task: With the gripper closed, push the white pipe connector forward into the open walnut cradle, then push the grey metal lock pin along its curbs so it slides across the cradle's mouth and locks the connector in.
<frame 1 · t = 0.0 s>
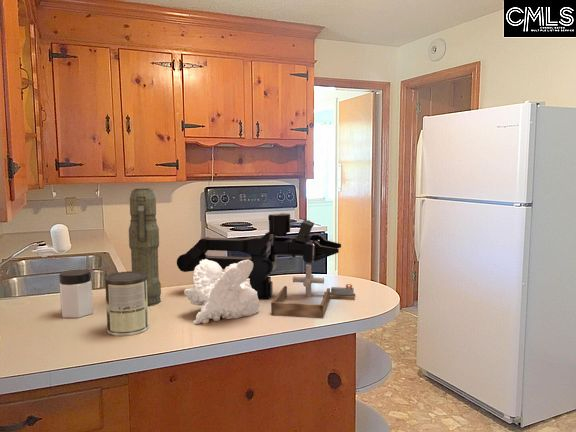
hand: (339, 248, 145), 17 cm above the counter, tool horizontal, fingers open, 9 cm apart
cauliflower: (221, 316, 133), on the counter
jar: (77, 314, 135), on the counter
pipe connector: (308, 296, 153), on the counter
thermos: (146, 302, 146), on the counter
coffee can: (128, 329, 122), on the counter
dock cradle: (301, 307, 140), on the counter
lock pin: (342, 291, 150), point 2 cm above the counter, slide at 6.0 cm
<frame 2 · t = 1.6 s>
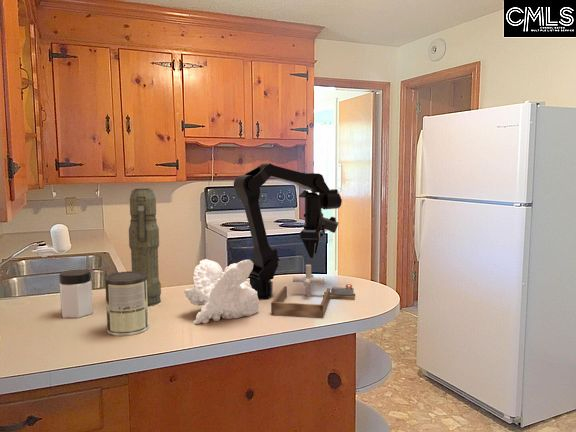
hand: (313, 255, 162), 11 cm above the counter, tool pointing down, fingers open, 8 cm apart
nothing on the counter moved.
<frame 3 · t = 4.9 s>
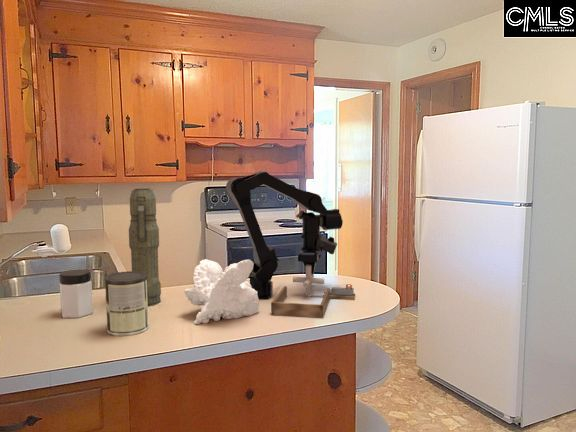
hand: (311, 277, 158), 5 cm above the counter, tool pointing down, fingers closed
pipe connector: (308, 296, 153), on the counter, touching gripper
everything else where it was.
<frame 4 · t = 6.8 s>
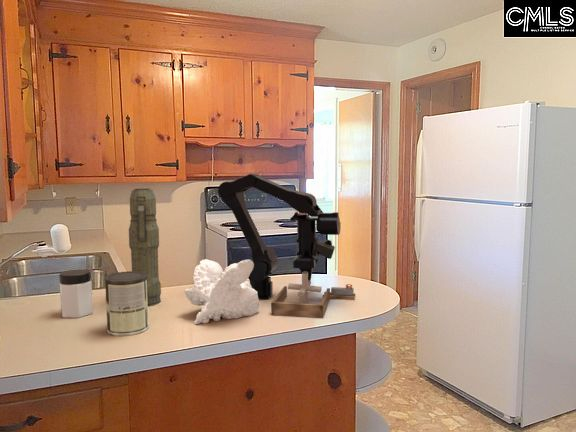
hand: (308, 283, 148), 5 cm above the counter, tool pointing down, fingers closed
pipe connector: (304, 304, 144), on the counter, touching gripper
everything else where it was.
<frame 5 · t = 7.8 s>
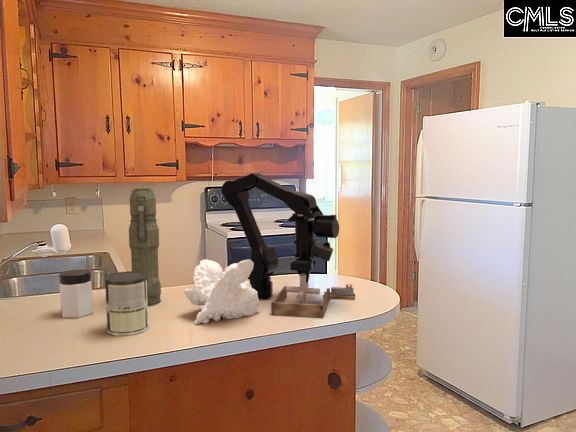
hand: (305, 285, 145), 5 cm above the counter, tool pointing down, fingers closed
pipe connector: (302, 306, 141), on the counter, touching gripper
everything else where it was.
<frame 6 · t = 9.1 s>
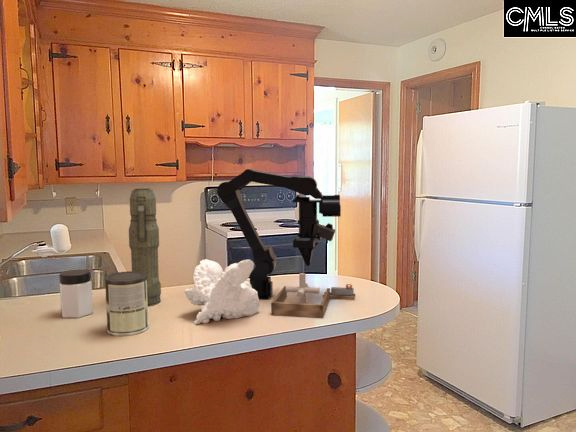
hand: (308, 265, 149), 10 cm above the counter, tool pointing down, fingers closed
pipe connector: (302, 307, 141), on the counter
everything else where it was.
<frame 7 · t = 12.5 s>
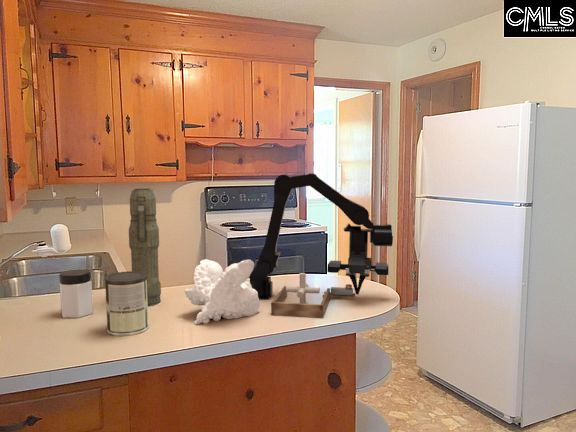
hand: (357, 294, 149), 1 cm above the counter, tool pointing down, fingers closed
lock pin: (342, 291, 150), point 2 cm above the counter, slide at 5.9 cm, touching gripper
everything else where it was.
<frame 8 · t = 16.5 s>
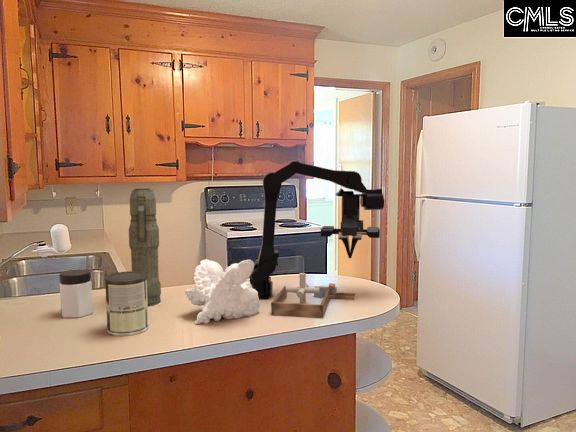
hand: (350, 258, 153), 12 cm above the counter, tool pointing down, fingers closed
lock pin: (325, 290, 151), point 2 cm above the counter, slide at 0.6 cm
everything else where it was.
at the end: pipe connector inside the target area (2.5 cm from its centre), on the counter; lock pin slide at 0.6 cm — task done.
